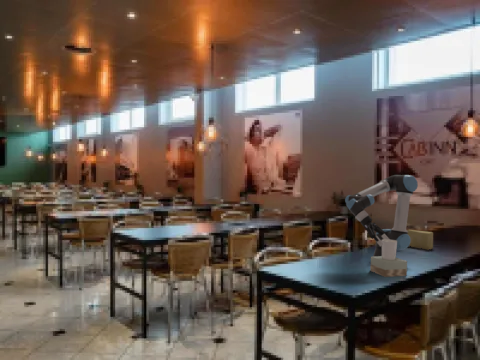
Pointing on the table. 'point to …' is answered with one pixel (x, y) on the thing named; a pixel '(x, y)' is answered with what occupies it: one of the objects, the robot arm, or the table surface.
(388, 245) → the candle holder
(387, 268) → the top block
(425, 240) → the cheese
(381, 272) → the bottom block
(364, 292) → the table surface
